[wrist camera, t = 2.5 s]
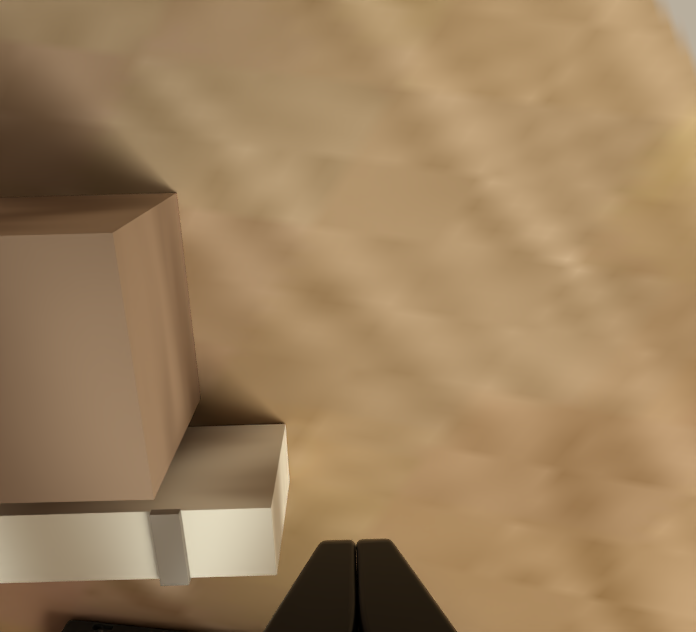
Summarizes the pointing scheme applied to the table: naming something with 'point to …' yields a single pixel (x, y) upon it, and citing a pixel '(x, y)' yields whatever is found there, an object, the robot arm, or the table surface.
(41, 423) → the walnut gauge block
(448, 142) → the table surface
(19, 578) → the rail
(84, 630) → the handheld gaming console
